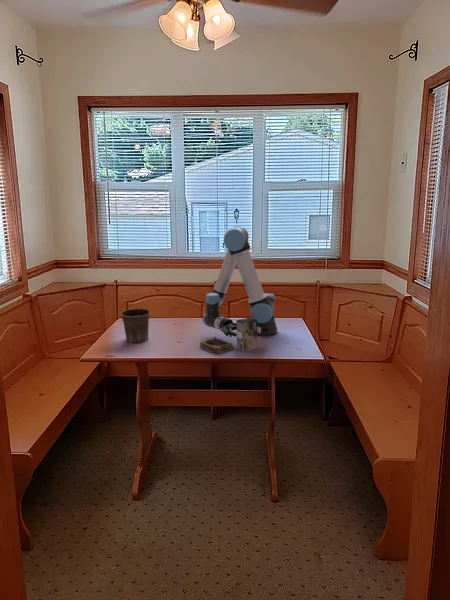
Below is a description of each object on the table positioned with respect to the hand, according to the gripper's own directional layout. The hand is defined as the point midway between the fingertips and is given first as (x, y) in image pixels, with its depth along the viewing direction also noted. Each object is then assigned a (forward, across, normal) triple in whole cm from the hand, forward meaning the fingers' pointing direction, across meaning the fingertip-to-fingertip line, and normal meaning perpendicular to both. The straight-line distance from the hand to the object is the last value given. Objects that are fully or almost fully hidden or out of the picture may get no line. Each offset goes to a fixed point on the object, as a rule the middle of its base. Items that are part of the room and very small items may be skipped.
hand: (251, 333), depth 228 cm
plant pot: (-56, +35, -10) cm, 67 cm away
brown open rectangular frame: (-15, +12, -10) cm, 21 cm away
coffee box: (-3, 0, -10) cm, 10 cm away
